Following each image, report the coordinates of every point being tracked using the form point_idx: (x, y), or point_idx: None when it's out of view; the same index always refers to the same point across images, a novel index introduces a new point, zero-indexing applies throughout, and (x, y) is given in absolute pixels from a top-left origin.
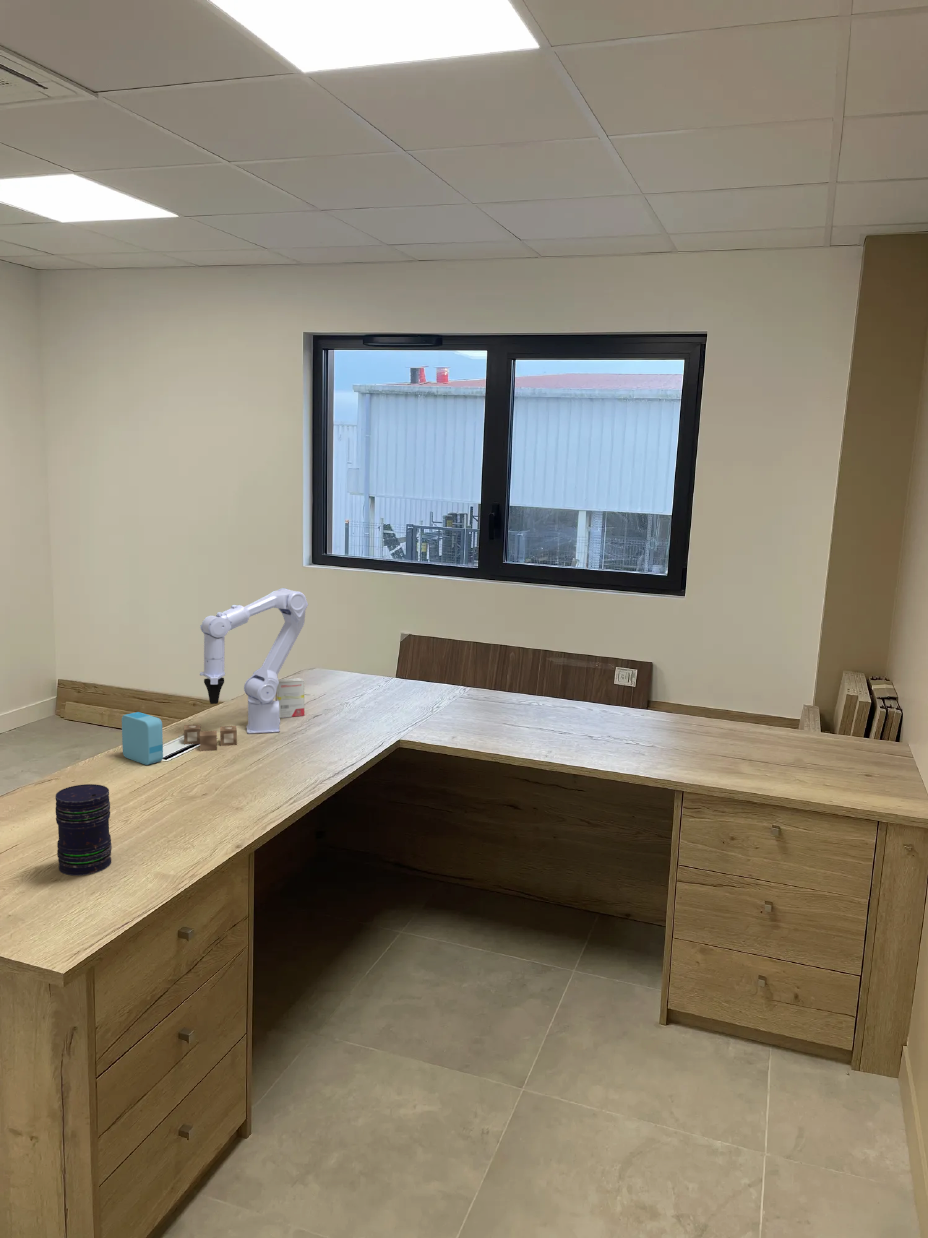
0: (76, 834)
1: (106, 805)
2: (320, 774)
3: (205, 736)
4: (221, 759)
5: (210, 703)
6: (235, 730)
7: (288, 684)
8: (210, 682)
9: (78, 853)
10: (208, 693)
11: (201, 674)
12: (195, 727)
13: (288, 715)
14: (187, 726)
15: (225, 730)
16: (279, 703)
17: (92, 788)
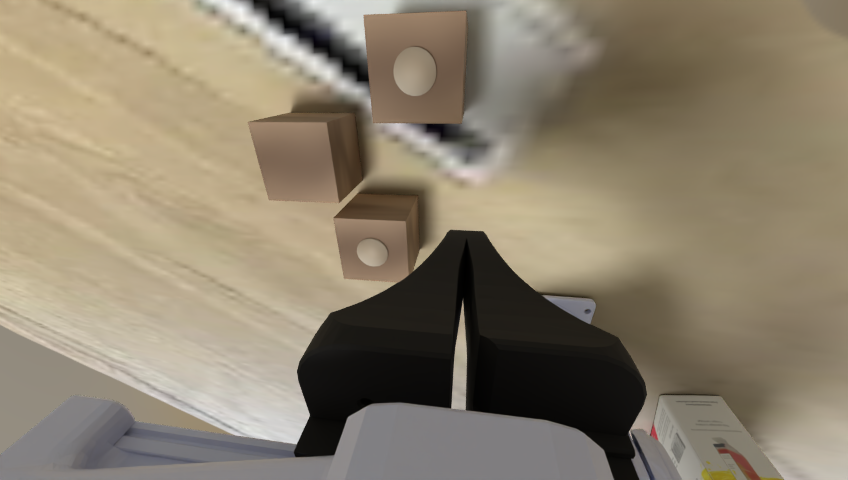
0: None
1: None
2: (158, 375)
3: (257, 149)
4: (209, 189)
5: (449, 232)
6: (343, 274)
7: None
8: (35, 426)
9: None
10: (419, 267)
11: (331, 469)
12: (402, 93)
13: (657, 422)
14: (430, 37)
15: (341, 238)
16: (693, 453)
17: None
